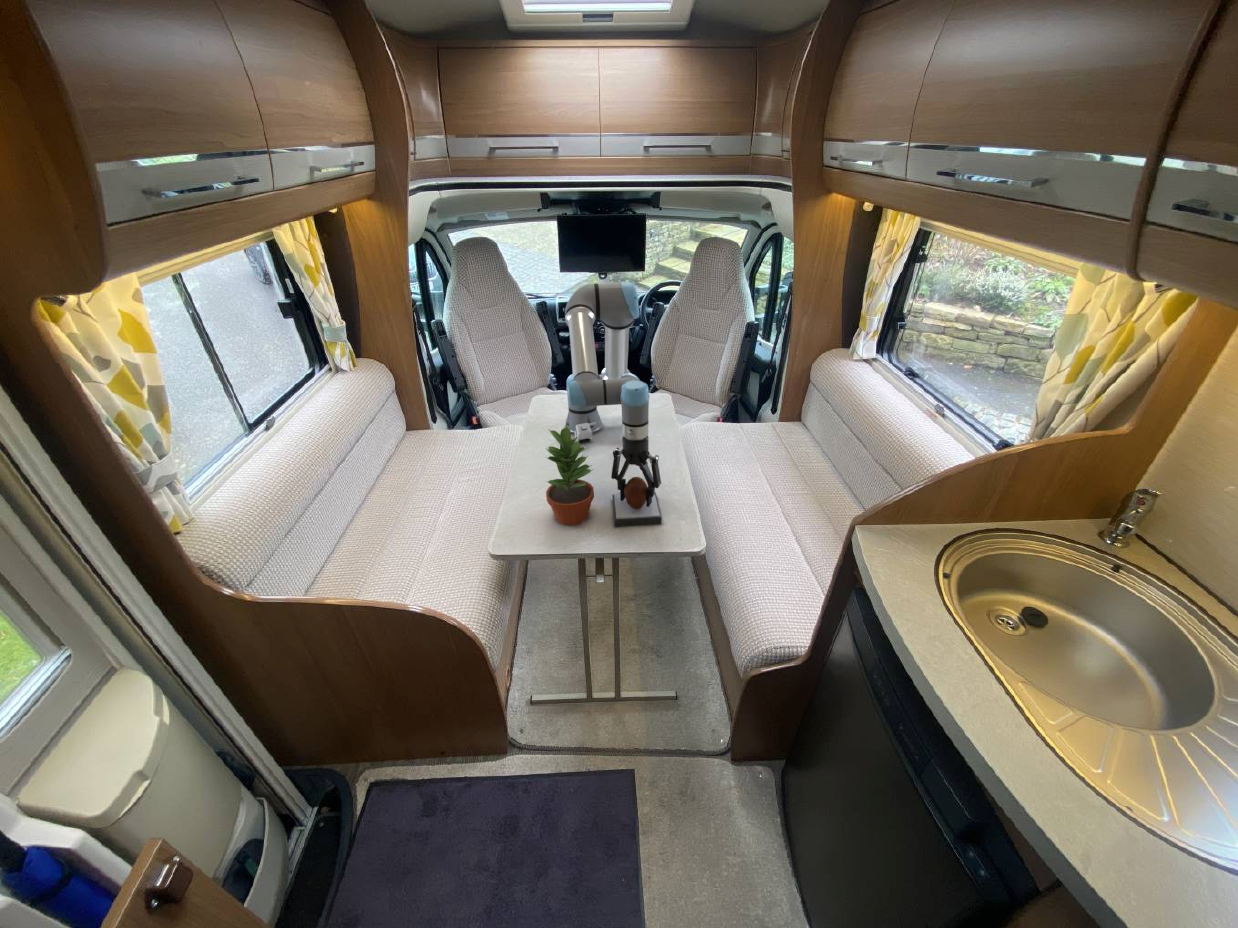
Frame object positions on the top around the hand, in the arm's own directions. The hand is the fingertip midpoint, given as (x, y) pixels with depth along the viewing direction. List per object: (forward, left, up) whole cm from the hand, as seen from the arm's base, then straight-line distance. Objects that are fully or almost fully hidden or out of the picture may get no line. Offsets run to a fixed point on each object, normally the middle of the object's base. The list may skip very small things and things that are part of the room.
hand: (636, 501), depth 153 cm
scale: (0, 0, -4) cm, 4 cm away
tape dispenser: (-36, -37, -4) cm, 52 cm away
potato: (0, 0, 0) cm, 0 cm away
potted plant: (+9, -18, -4) cm, 20 cm away
